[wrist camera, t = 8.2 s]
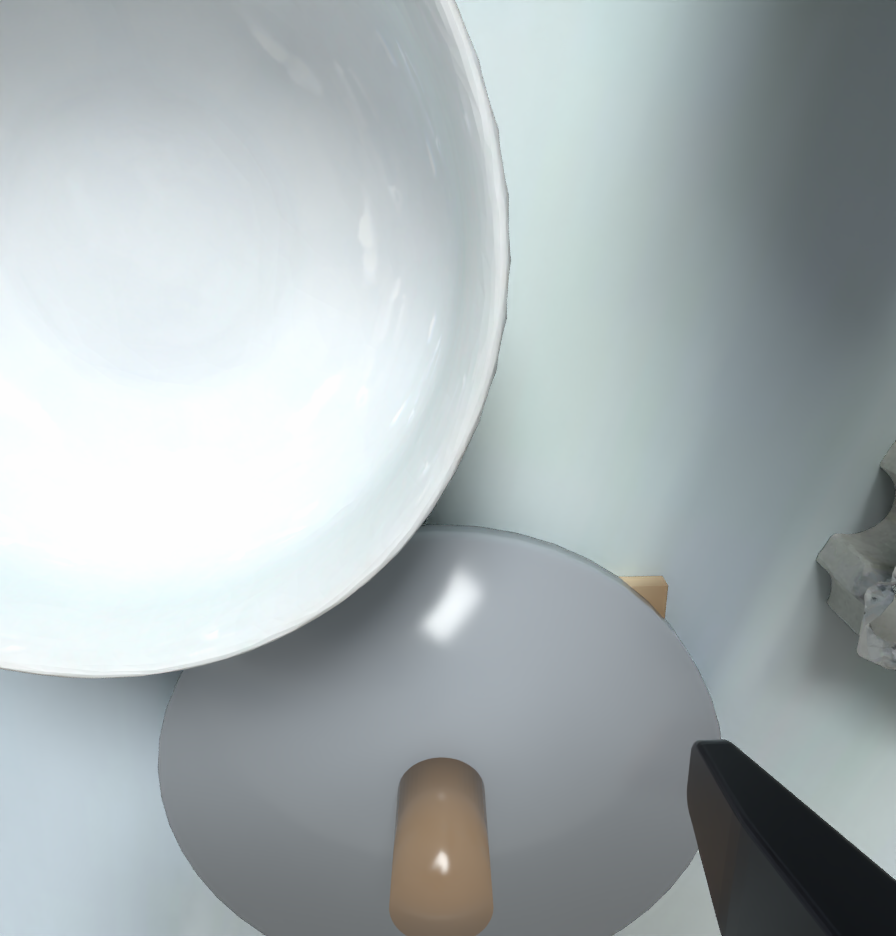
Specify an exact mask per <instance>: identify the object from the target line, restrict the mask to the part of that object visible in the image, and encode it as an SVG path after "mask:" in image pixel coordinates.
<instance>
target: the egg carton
mask: <svg viewBox="0 0 896 936" xmlns="http://www.w3.org/2000/svg"><path fill="white" fill-rule="evenodd" d="M880 467H881V468H882V469H883V470H884V471H885V472H886V473H888V474H889V476H890V477H891V479H892V480H893V483H894V486H895V500H894V503H893V506H892V508H891V510H890V512H889V513H888V515H887V516H886V517H885V518H884V519H883V520H882V521H881V522H880V523H879V524H877V525H876V526H875V527H872V528H870V529H868V530H865V531H863V532H859V533H855V534H838V533H835V534H834V535H832V536H831V537H830V538H829V540H828V542H827V543H826V545H825V546H824V548H823V550H822V551H821V552H820V553H819V554H818V557H817V559H816V561H817V562H818V563H819V564H820V565H821V566H822V567H823V568H824V569H825V570H826V571H827V572H828V573H829V575H830V577H831V592H830V596H829V598H828V600H827V604H828V605H829V606H830V607H831V609H832V610H833V611H834V612H835V613H836V614H837V615H838V616H839V617H840V618H841V619H842V620H843V621H844V622H845V623H847V624H848V625H849V627H850V628H851V629H852V630H853V631H854V632H855V633H856V634H857V635H858V636H859V639H858V645H857V650H856V651H857V653H858V655H859V656H860V657H862V658H864V659H866V660H869V661H871V662H873V663H875V664H877V665H880V666H882V667H884V668H886V669H893V670H895V671H896V595H895V593H894V591H893V589H892V585H896V440H895V442H894V443H893V444H892V446H891V447H890V448H889V450H888V452H887V453H886V455H885V456H884V458H883V459H882V461H881V462H880Z"/></svg>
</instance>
